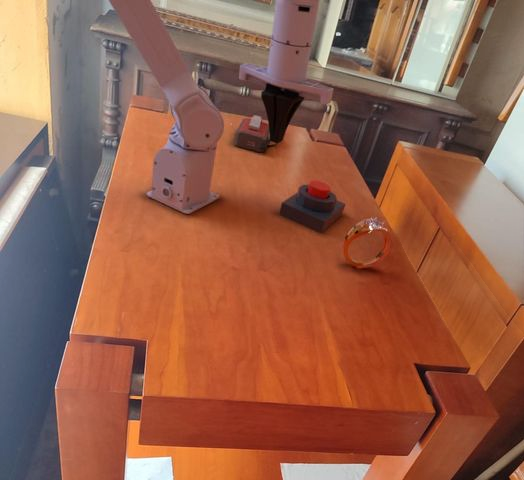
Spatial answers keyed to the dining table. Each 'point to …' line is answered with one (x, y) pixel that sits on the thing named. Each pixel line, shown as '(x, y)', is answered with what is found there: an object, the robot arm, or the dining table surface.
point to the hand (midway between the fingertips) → (276, 140)
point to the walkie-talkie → (253, 134)
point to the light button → (318, 189)
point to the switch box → (312, 209)
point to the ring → (353, 234)
